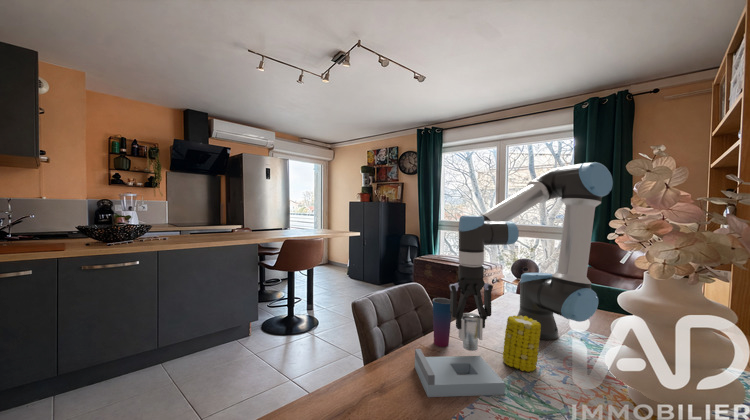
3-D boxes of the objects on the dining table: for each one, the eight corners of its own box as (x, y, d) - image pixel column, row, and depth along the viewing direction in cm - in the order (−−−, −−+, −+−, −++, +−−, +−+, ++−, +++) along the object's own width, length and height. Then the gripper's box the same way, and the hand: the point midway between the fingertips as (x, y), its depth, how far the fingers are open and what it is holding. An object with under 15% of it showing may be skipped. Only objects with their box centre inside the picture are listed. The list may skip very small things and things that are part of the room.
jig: (479, 365, 90) (480, 347, 90) (504, 394, 76) (505, 373, 76) (414, 367, 88) (415, 348, 88) (427, 397, 74) (428, 375, 74)
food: (496, 364, 94) (525, 364, 96) (520, 375, 83) (553, 375, 84) (494, 313, 98) (522, 314, 99) (516, 317, 86) (547, 318, 88)
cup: (451, 349, 100) (453, 304, 100) (431, 346, 101) (432, 302, 101) (450, 340, 107) (452, 298, 107) (431, 338, 108) (432, 297, 108)
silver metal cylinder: (474, 343, 97) (474, 312, 97) (481, 351, 91) (482, 318, 91) (459, 344, 96) (459, 313, 96) (465, 351, 91) (465, 319, 91)
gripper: (492, 262, 98) (492, 332, 98) (438, 262, 96) (438, 334, 97) (505, 266, 91) (504, 342, 91) (446, 267, 89) (446, 345, 89)
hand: (470, 338), depth 94 cm, fingers closed on silver metal cylinder, 5 cm apart
